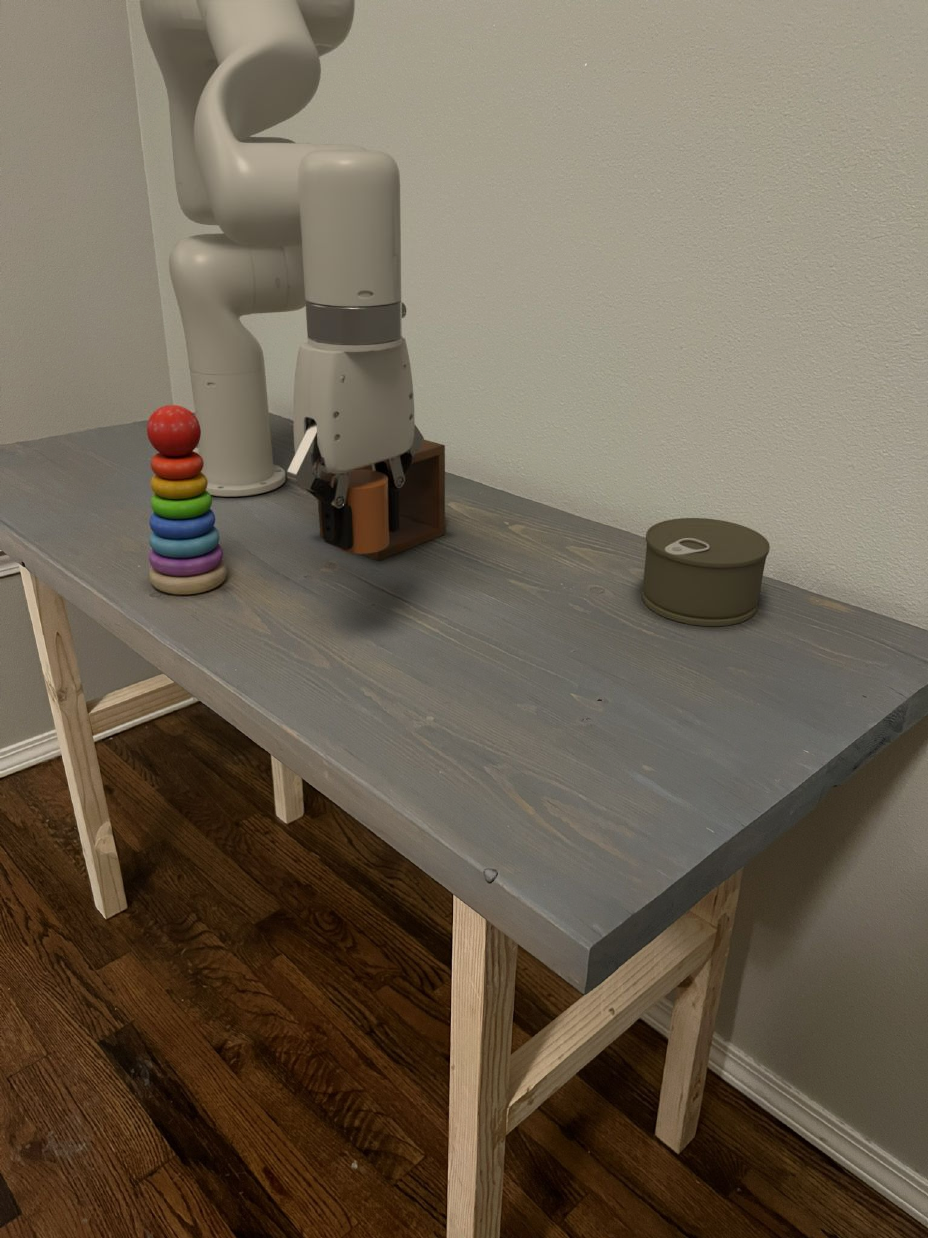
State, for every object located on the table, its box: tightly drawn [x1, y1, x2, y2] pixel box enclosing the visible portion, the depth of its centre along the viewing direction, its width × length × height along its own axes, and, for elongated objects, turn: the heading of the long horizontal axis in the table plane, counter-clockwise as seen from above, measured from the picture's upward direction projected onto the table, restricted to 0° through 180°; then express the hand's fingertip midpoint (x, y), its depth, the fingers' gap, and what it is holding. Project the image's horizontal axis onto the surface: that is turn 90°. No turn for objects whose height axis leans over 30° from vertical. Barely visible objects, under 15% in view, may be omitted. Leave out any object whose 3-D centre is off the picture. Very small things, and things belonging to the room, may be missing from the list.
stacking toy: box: [146, 404, 228, 595], centre depth 94 cm, size 8×8×19 cm
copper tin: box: [332, 470, 389, 555], centre depth 81 cm, size 5×5×6 cm
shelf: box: [314, 439, 446, 562], centre depth 108 cm, size 10×11×11 cm
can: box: [641, 517, 770, 627], centre depth 94 cm, size 12×12×7 cm
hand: (361, 534), depth 82 cm, fingers closed on copper tin, 4 cm apart
